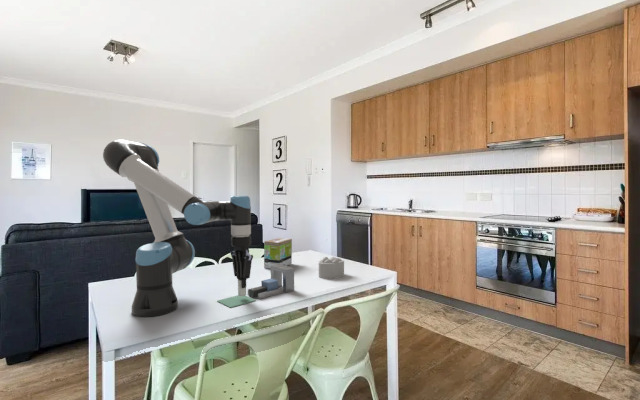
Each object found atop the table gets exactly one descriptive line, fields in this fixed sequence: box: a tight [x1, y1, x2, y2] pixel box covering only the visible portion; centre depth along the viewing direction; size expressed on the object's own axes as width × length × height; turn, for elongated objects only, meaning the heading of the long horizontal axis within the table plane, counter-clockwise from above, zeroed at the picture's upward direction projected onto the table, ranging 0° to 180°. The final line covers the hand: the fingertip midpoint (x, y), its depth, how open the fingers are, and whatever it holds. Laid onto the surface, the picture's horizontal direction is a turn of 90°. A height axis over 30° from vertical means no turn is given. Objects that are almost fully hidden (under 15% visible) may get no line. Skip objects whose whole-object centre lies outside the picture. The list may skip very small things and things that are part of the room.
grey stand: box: [247, 264, 295, 300], centre depth 143 cm, size 17×10×10 cm, turn 134°
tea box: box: [263, 237, 293, 270], centre depth 189 cm, size 15×10×15 cm, turn 160°
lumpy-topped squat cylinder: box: [318, 256, 345, 280], centre depth 169 cm, size 10×13×9 cm
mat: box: [217, 294, 257, 309], centre depth 132 cm, size 11×10×1 cm
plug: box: [248, 277, 279, 299], centre depth 141 cm, size 12×4×5 cm, turn 134°
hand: (242, 295), depth 134 cm, fingers closed
